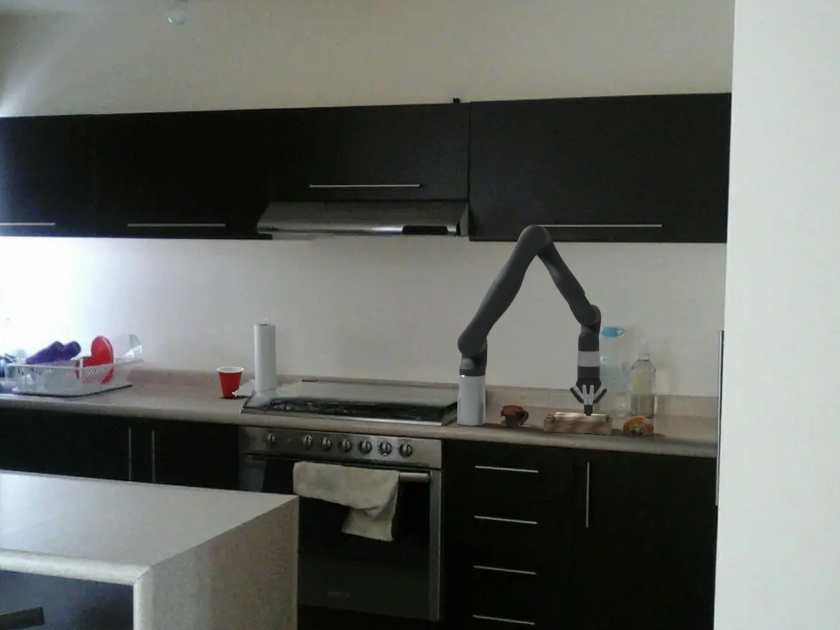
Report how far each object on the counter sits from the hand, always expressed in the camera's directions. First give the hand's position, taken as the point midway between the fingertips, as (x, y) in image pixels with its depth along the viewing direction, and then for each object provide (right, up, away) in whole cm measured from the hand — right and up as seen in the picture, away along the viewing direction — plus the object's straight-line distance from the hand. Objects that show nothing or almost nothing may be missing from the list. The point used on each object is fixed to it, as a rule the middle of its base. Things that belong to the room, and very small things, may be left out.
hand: (588, 415), depth 307 cm
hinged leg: (-3, -2, +1) cm, 4 cm away
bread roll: (+16, -6, -3) cm, 17 cm away
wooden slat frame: (-3, -5, +4) cm, 7 cm away
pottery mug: (-24, -5, +11) cm, 27 cm away
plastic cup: (-135, 0, +71) cm, 153 cm away
